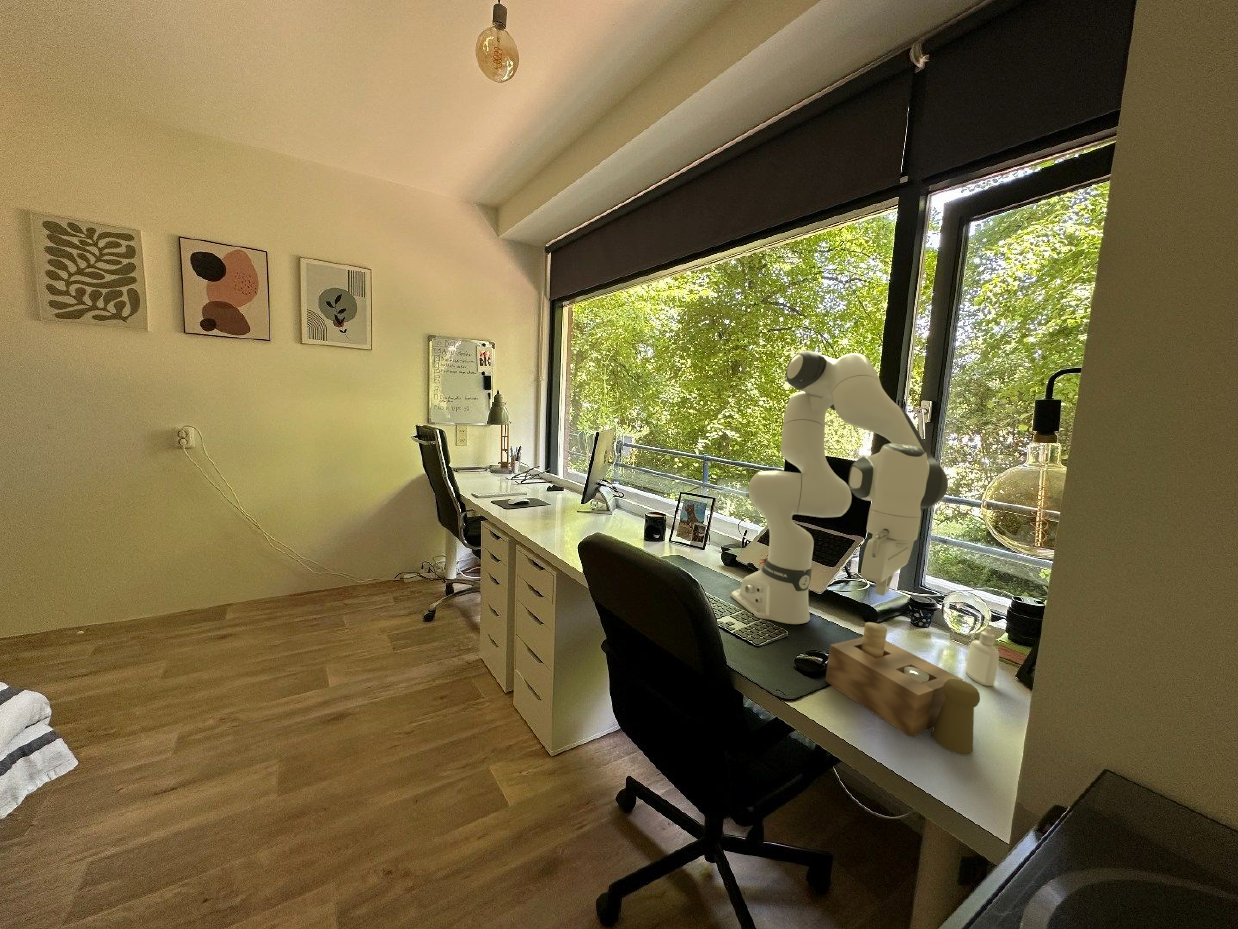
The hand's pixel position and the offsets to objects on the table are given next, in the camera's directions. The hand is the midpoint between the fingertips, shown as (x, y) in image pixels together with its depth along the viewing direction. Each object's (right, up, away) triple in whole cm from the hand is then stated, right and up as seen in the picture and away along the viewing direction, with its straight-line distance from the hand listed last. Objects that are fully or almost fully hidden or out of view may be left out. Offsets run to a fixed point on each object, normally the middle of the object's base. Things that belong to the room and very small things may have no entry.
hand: (881, 593), depth 96 cm
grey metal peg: (+3, -21, -5) cm, 22 cm away
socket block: (0, -21, -1) cm, 21 cm away
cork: (+5, -23, -13) cm, 27 cm away
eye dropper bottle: (+27, -22, +9) cm, 36 cm away
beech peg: (-1, -15, +2) cm, 15 cm away
